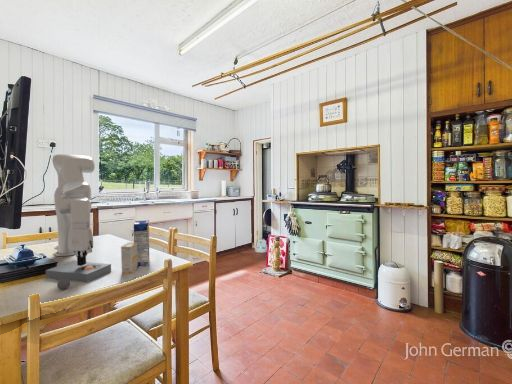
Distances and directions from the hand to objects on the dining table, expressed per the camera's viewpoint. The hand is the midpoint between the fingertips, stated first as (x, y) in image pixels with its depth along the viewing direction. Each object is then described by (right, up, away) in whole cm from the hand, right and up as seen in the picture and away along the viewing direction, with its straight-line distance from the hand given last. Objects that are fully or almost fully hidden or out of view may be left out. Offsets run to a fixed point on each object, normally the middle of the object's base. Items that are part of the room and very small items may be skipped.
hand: (81, 264), depth 123 cm
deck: (-1, -5, +1) cm, 5 cm away
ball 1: (+3, -3, -16) cm, 17 cm away
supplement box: (+19, -5, +6) cm, 21 cm away
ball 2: (+4, -3, -1) cm, 5 cm away
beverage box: (+21, -4, +17) cm, 27 cm away
